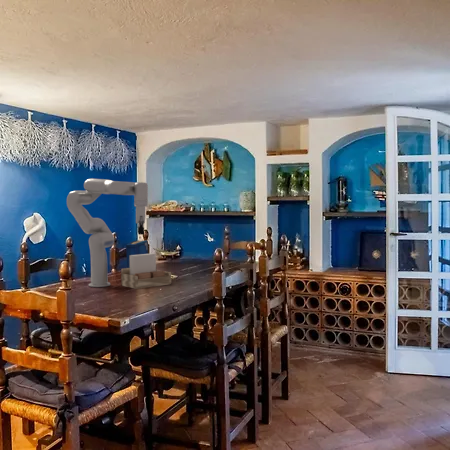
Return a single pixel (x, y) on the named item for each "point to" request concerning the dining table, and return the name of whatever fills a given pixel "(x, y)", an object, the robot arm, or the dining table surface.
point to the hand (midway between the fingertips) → (140, 233)
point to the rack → (143, 280)
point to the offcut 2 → (157, 274)
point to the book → (136, 249)
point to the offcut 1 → (143, 275)
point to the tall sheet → (142, 263)
